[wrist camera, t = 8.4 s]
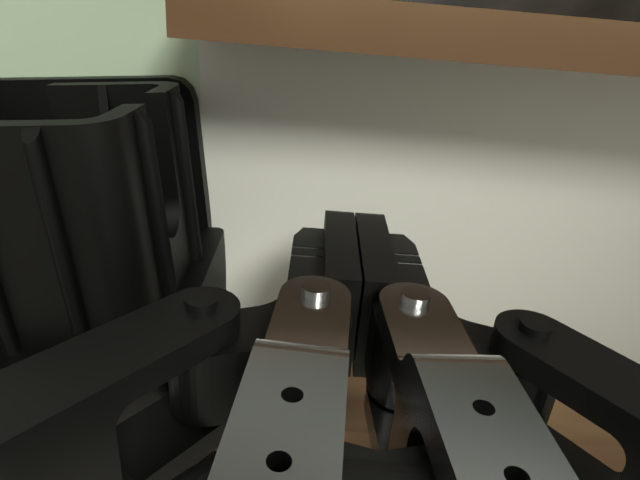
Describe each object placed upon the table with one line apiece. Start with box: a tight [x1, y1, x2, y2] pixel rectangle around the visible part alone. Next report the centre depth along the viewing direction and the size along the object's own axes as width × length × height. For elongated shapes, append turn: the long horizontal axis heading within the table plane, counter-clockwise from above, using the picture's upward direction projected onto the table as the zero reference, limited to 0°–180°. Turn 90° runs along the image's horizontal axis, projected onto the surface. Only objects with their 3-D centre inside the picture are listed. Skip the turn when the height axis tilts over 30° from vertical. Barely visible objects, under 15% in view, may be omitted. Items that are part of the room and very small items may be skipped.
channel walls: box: [165, 0, 640, 472], centre depth 14 cm, size 12×15×3 cm
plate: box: [0, 0, 640, 364], centre depth 15 cm, size 12×32×1 cm, turn 85°
